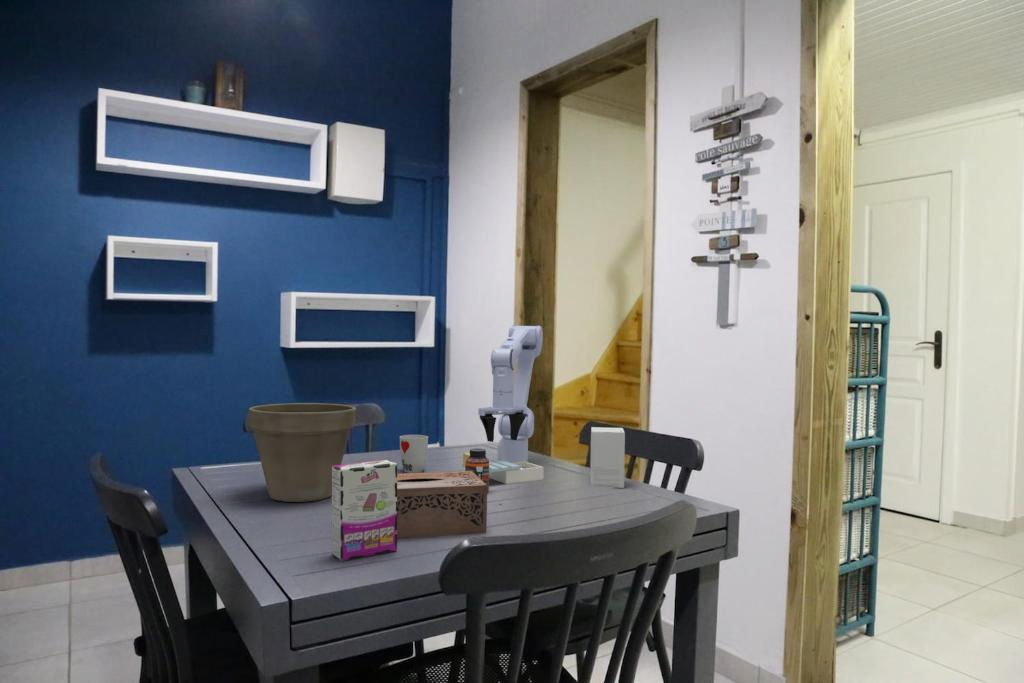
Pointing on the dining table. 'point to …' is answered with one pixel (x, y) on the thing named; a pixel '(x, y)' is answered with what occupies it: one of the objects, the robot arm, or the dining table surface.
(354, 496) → the candy bar box
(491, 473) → the tub
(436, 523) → the tissue box cover
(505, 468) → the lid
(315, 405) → the plant pot
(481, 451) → the supplement bottle
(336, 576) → the dining table surface
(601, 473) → the supplement box
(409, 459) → the cup
